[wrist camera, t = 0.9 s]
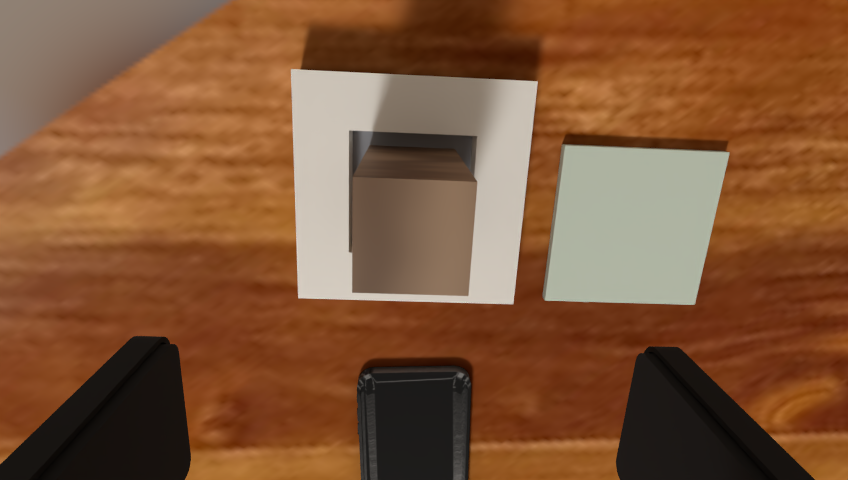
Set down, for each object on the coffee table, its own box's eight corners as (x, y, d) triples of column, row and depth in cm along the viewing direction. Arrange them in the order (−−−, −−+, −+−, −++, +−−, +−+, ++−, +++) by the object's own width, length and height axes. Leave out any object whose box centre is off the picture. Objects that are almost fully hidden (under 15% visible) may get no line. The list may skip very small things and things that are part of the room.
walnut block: (454, 148, 30) (477, 181, 20) (449, 229, 31) (468, 296, 22) (369, 145, 30) (352, 177, 20) (368, 227, 31) (352, 292, 22)
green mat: (723, 151, 31) (729, 152, 30) (689, 300, 34) (694, 304, 33) (562, 144, 30) (565, 145, 30) (542, 296, 33) (544, 300, 33)
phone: (471, 371, 34) (465, 542, 39) (469, 362, 35) (463, 529, 40) (354, 373, 34) (362, 545, 38) (356, 364, 35) (363, 532, 39)
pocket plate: (527, 80, 29) (537, 81, 27) (505, 288, 33) (513, 304, 31) (300, 69, 29) (290, 69, 26) (305, 282, 32) (298, 298, 30)
